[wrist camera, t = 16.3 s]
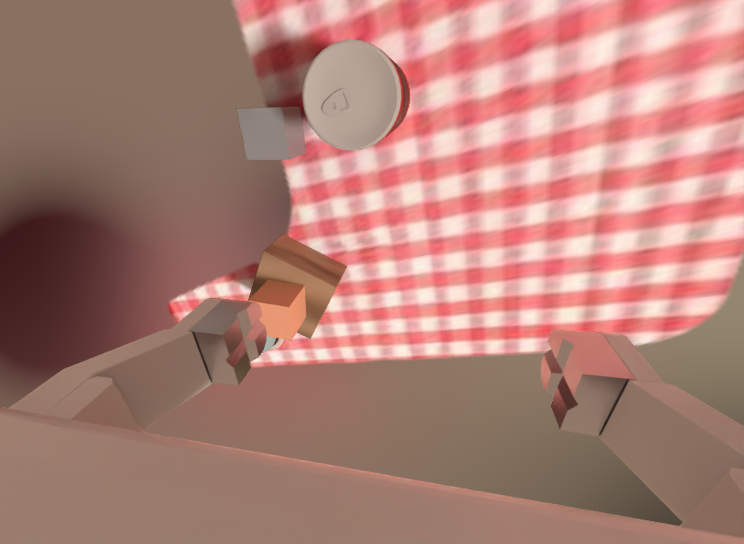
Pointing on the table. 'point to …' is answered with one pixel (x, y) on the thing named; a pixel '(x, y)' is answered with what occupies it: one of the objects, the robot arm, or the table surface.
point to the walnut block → (301, 276)
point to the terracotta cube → (281, 308)
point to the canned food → (354, 95)
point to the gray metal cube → (272, 132)
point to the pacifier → (272, 343)
